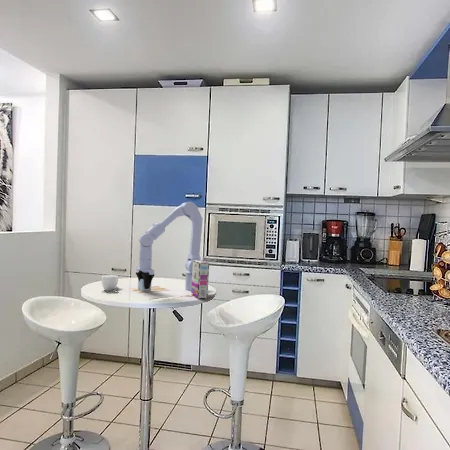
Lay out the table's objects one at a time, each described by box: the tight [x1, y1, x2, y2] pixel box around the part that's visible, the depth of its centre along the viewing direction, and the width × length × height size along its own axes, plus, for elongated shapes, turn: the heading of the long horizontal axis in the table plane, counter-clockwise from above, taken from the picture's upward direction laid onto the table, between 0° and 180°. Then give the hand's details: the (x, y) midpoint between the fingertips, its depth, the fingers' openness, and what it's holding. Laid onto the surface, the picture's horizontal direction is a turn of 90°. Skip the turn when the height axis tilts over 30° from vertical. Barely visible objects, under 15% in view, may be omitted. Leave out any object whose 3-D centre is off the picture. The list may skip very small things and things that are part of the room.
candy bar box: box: [190, 260, 210, 300], centre depth 181 cm, size 11×5×16 cm, turn 21°
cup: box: [101, 274, 119, 292], centre depth 190 cm, size 8×10×7 cm
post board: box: [129, 286, 169, 294], centre depth 189 cm, size 12×16×1 cm
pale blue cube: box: [137, 279, 152, 291], centre depth 186 cm, size 5×5×5 cm
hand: (144, 287), depth 186 cm, fingers closed on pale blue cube, 5 cm apart
